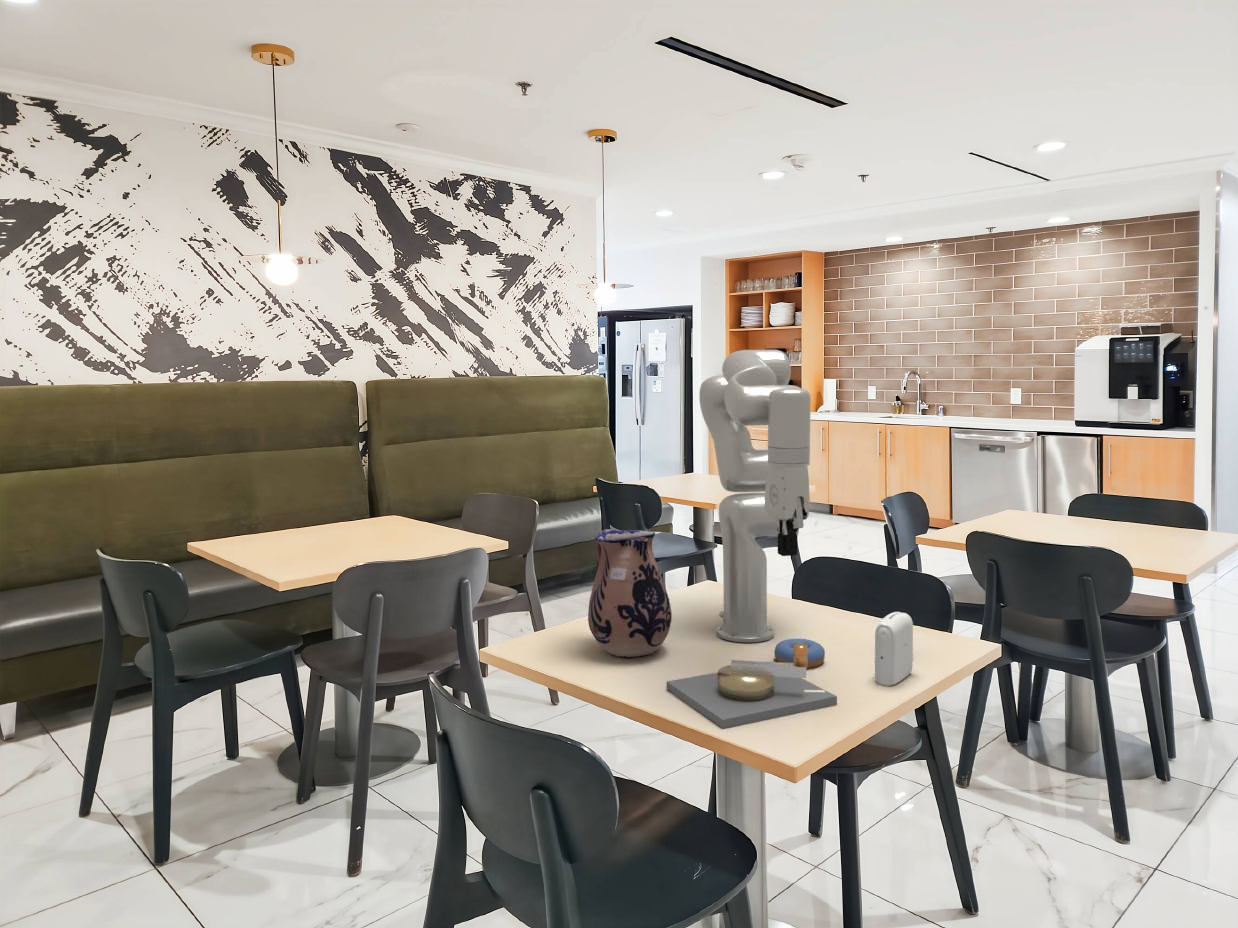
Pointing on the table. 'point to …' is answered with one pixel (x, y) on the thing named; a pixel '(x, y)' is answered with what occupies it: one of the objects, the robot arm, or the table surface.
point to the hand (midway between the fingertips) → (787, 554)
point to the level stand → (734, 712)
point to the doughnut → (786, 651)
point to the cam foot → (759, 675)
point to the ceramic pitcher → (628, 595)
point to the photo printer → (893, 648)
